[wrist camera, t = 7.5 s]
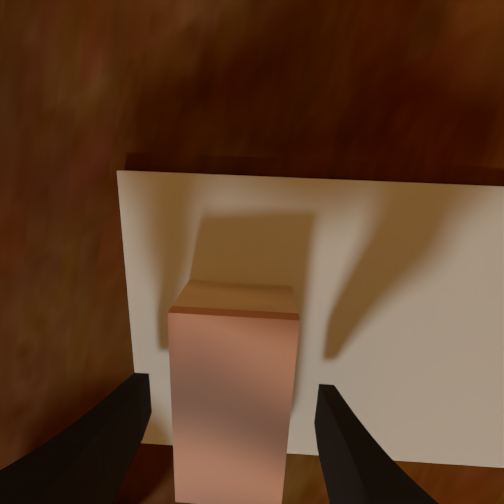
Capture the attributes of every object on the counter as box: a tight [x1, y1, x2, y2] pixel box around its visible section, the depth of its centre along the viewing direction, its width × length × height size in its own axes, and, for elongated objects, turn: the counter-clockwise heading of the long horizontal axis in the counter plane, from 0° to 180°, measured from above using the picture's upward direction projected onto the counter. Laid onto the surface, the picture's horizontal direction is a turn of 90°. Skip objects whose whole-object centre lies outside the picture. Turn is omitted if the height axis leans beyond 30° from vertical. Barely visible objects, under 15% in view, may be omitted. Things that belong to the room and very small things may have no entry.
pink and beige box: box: [167, 280, 300, 504], centre depth 13 cm, size 9×4×3 cm, turn 178°
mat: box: [117, 170, 504, 468], centre depth 14 cm, size 20×14×1 cm
